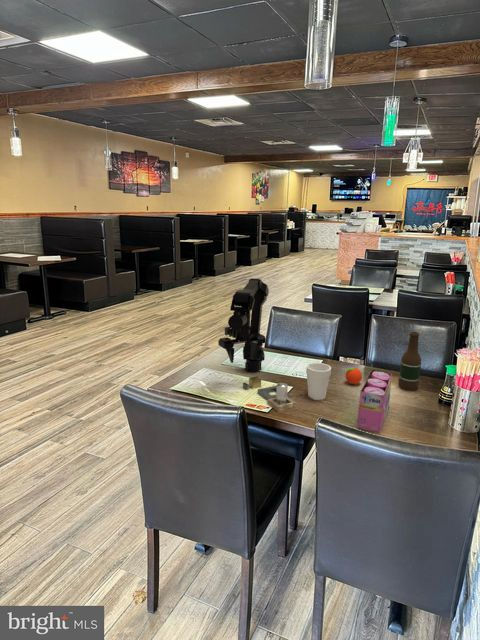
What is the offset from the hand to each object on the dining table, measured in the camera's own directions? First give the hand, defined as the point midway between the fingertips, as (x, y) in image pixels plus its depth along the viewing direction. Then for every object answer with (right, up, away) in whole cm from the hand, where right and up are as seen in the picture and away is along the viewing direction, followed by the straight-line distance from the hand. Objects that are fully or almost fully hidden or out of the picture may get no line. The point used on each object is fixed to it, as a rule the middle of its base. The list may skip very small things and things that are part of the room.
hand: (241, 361), depth 173 cm
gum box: (+47, -18, -18) cm, 54 cm away
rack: (+15, -16, -13) cm, 25 cm away
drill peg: (+15, -16, -13) cm, 25 cm away
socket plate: (+9, -13, -1) cm, 16 cm away
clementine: (+47, -11, +11) cm, 49 cm away
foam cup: (+29, -14, -4) cm, 33 cm away
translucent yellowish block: (+5, -11, +3) cm, 12 cm away
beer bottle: (+69, -12, +7) cm, 71 cm away
